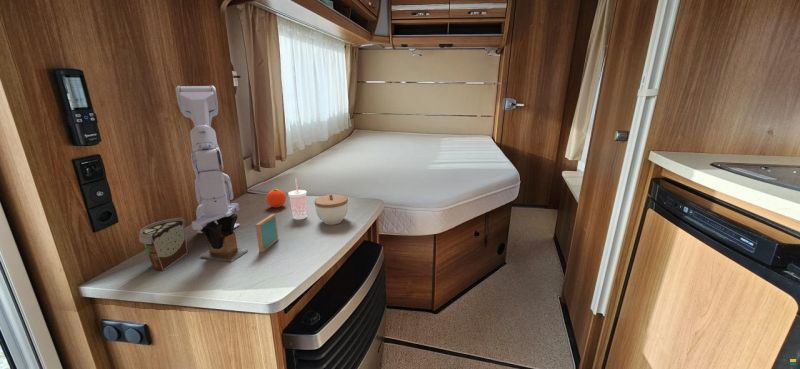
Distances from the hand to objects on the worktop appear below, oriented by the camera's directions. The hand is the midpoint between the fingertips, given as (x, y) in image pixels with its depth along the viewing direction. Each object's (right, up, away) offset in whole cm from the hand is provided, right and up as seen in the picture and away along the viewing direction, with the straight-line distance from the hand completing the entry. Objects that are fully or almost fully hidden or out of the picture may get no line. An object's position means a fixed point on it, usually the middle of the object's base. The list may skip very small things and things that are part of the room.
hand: (222, 244), depth 88 cm
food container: (-14, -4, -2) cm, 15 cm away
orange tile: (+10, -1, +6) cm, 12 cm away
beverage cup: (+13, +5, +27) cm, 30 cm away
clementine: (+1, +7, +38) cm, 39 cm away
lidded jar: (+25, +4, +22) cm, 34 cm away
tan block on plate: (0, -3, +1) cm, 3 cm away
